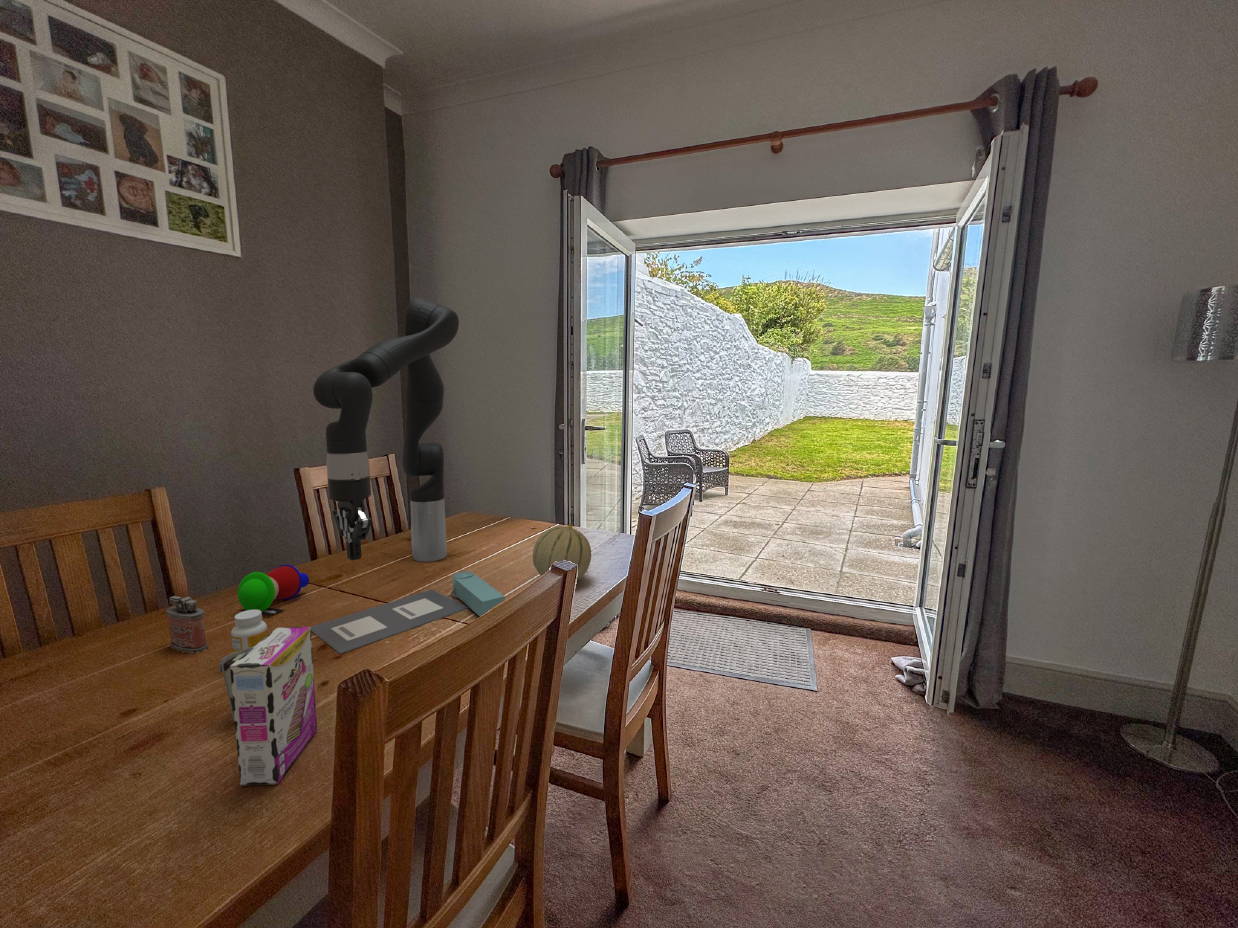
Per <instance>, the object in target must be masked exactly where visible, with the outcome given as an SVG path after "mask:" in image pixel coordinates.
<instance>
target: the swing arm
mask: <svg viewBox="0 0 1238 928" xmlns="http://www.w3.org/2000/svg"><path fill="white" fill-rule="evenodd" d="M452 588H453V589H452V591H453V593H454V594H456V596H457V597H458V598H460V599H459V600H461V602H463V603H464V605H465V606H467V607H469V609H471V611H472V612H474V613H475V614H476V615H477V616H478V617H480V616H481V615H483V614H485V613H486V612H488V610H490V609H491V608H493V607H494V606H496V605H497V604H499V603H501V602H502V601H504V600H505V599H506V597H505V595H503V593H501V592H500V591H499V590H496V588H494V587H493V586H492V585H490V584H489V583H488V582H486V581H485V580H484V579H482V578H481V577H480V576H479V575H477V574H475V573H474V572H472V571H458V572H456V573H454V574H453V575H452ZM505 601H506V600H505Z"/></svg>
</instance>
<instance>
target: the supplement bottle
mask: <svg viewBox="0 0 1238 928" xmlns="http://www.w3.org/2000/svg"><path fill="white" fill-rule="evenodd" d="M233 619H234V624H235V626H234V627H233V628H232V629H231V631H230V637H231V649H232V650H231V651H232V653H235V652H237V651H240V650H243V649H247V648H250V647H254V646H256V645H257V644H258V643H259V642H261V641H262V640H263V639H264V638H265V637H267V636H268V635H269V632H268V625H267V623H266V622H265V621H264V620H263V614H262V613H261V611H260V610H247V611H240V612H238V613H237V614H235V615H234V618H233Z"/></svg>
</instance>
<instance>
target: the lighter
mask: <svg viewBox="0 0 1238 928" xmlns="http://www.w3.org/2000/svg"><path fill="white" fill-rule="evenodd" d="M169 604H170V605H173V606H172V607H168V608H167V609H166V610H165V613H166V615H167V619H168V626H169V635H170V642H169V643H170V645H169V646H171V647H172V648H174V649H176V650H180V651H183V652H182V653H184V652H191V653H190V654H192V652H193V653H196V652H201V651H203V650H205V649H207V648H208V649H209V643H208V642H207V636H206V627H205V620H204V619H205V618H204V616H205V615H206V614H205V610H203V609H201V608H199V607H197V600H194V599H193V598H192V597H190V596H186V597H182V596H177V595H173V596H170V597H169ZM171 647H170V648H171ZM172 648H171V649H172ZM174 649H173V650H174ZM208 649H207V650H208ZM176 650H175V651H176ZM201 653H202V652H201ZM196 654H197V653H196Z"/></svg>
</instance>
